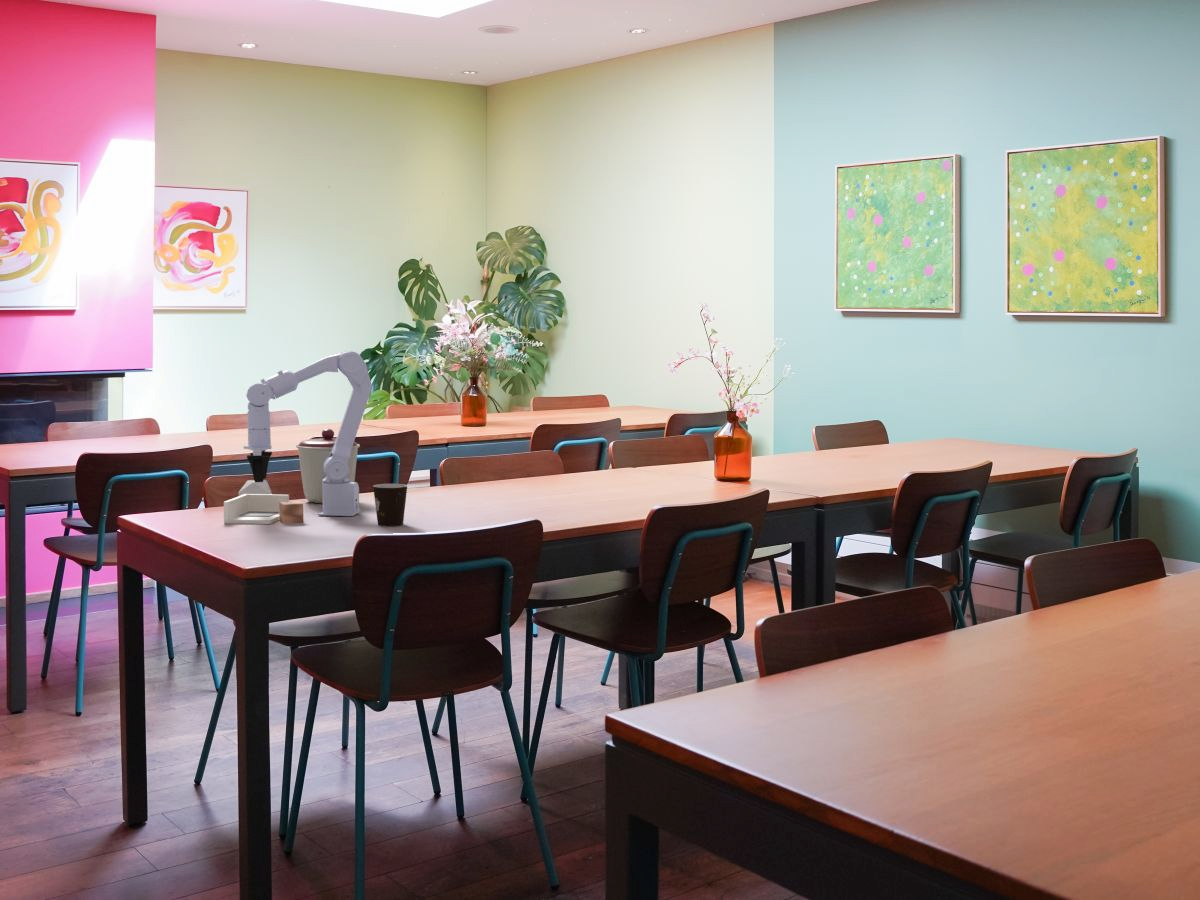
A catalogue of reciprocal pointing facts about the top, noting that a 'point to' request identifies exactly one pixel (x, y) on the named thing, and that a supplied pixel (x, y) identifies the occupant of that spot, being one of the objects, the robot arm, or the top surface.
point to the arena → (253, 508)
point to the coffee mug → (390, 503)
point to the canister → (320, 463)
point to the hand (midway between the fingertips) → (260, 480)
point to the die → (255, 488)
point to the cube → (291, 512)
